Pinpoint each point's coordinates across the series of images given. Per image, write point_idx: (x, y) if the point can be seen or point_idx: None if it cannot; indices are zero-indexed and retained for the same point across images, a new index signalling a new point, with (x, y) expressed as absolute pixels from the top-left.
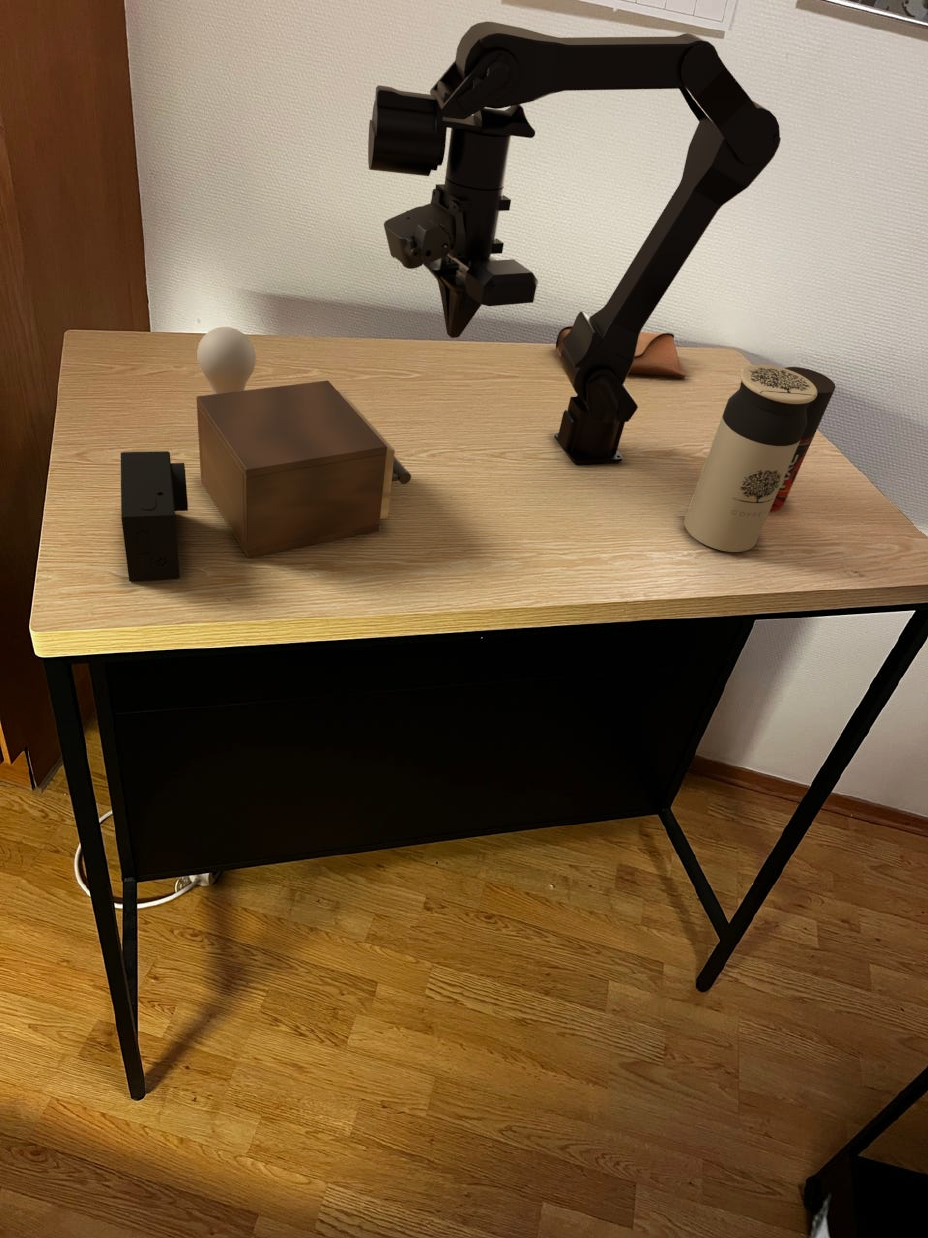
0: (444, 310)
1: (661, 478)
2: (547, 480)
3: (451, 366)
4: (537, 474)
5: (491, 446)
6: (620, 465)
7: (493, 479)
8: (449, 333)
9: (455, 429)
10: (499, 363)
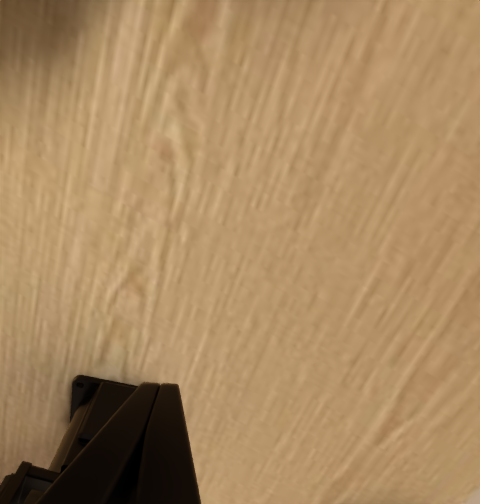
0: (171, 480)
1: (24, 450)
2: (36, 311)
3: (476, 373)
4: (58, 307)
5: (170, 285)
6: (67, 426)
7: (51, 225)
8: (146, 391)
9: (252, 256)
10: (434, 443)
